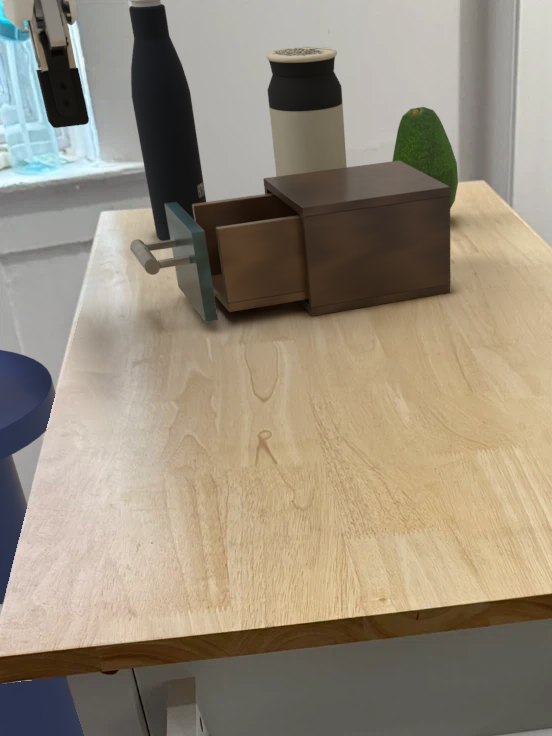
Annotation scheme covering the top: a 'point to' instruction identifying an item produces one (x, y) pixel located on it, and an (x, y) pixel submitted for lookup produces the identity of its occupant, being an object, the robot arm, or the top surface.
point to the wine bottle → (163, 116)
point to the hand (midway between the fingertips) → (69, 123)
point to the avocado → (427, 147)
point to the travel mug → (306, 110)
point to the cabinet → (369, 234)
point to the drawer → (233, 253)
